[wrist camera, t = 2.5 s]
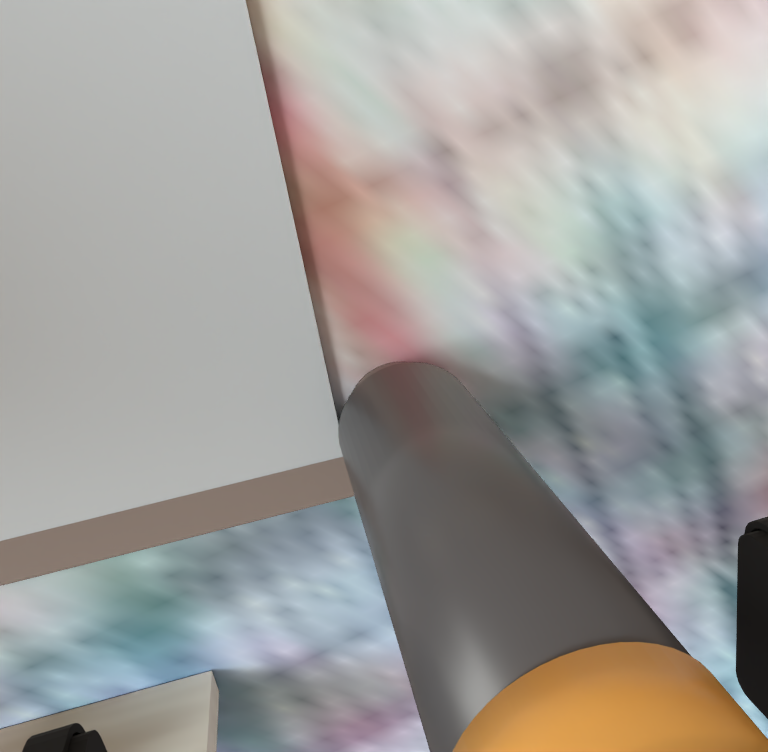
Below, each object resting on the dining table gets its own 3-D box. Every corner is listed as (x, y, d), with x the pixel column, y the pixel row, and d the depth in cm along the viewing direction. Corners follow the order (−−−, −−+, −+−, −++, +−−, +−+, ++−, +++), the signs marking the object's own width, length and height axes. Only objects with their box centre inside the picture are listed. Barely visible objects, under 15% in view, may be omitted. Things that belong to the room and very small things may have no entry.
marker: (453, 331, 17) (817, 690, 6) (469, 451, 18) (795, 923, 7) (317, 362, 17) (452, 804, 6) (344, 483, 18) (497, 1030, 7)
